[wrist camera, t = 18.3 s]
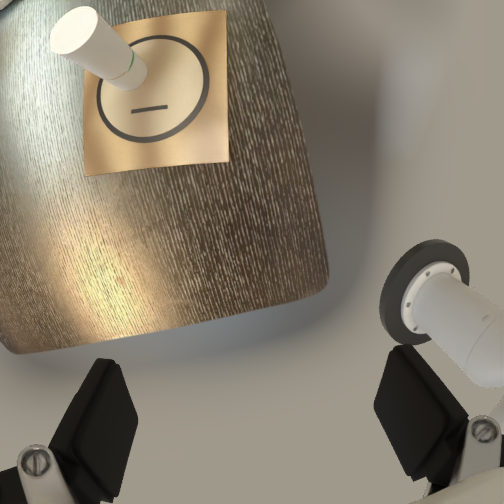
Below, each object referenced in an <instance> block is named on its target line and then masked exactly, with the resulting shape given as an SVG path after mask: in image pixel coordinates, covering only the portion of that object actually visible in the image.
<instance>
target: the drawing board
mask: <svg viewBox="0 0 504 504" xmlns="http://www.w3.org/2000/svg"><path fill="white" fill-rule="evenodd" d="M111 27H112V28H113V29H114V31H115V32H116V33H117V34H118V35H119V36H120V37H121V38H122V39H123V40H124V41H125V42H126V43H127V44H128V45H129V46H130V47H131V49H132V50H133V51H134V52H135V53H136V54H137V55H138V56H139V57H140V58H141V59H142V60H143V61H144V63H145V64H146V66H147V76H146V79H145V80H144V82H143V83H142V84H141V85H140V86H139V87H137V88H136V89H133V90H129V91H124V90H121V89H119V88H117V87H116V86H114V85H112V84H111V83H109V82H107V81H106V80H104V79H102V78H100V77H99V76H97V75H95V74H93V73H92V72H90V71H88V70H86V69H85V78H84V100H83V143H84V165H85V176H86V177H87V176H93V175H100V174H107V173H114V172H121V171H129V170H138V169H147V168H156V167H167V166H178V165H191V164H206V163H224V162H229V132H228V92H227V21H226V10H218V11H202V12H191V13H182V14H174V15H167V16H160V17H154V18H148V19H143V20H138V21H133V22H128V23H124V24H120V25H115V26H111Z"/></svg>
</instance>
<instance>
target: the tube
mask: <svg viewBox="0 0 504 504" xmlns="http://www.w3.org/2000/svg"><path fill="white" fill-rule="evenodd" d="M50 47H51V49H52V50H53V51H54V52H55V53H57V54H59V55H61V56H62V57H64V58H66V59H68V60H70V61H72V62H74V63H75V64H77V65H79V66H81V67H83V68H84V69H86V70H88V71H90V72H92V73H93V74H95V75H97V76H99V77H100V78H102V79H104V80H106V81H107V82H109V83H111V84H112V85H114V86H116V87H117V88H119V89H121V90H124V91H129V90H133V89H136V88H137V87H139V86H140V85H141V84H142V83H143V82H144V80H145V79H146V76H147V66H146V64H145V63H144V61H143V60H142V59H141V58H140V57H139V56H138V55H137V54H136V53H135V52H134V51H133V50H132V49H131V47H130V46H129V45H128V44H127V43H126V42H125V41H124V40H123V39H122V38H121V37H120V36H119V35H118V34H117V33H116V32H115V31H114V29H113V28H112V27H111V26H110V25H109V24H108V23H107V22H106V21H105V20H104V19H103V18H102V17H101V16H100V15H99V14H98V13H97V12H96V11H95V10H94V9H93V8H91V7H86V6H83V7H78V8H75V9H73V10H71V11H69V12H68V13H66V14H65V15H64V16H63V17H62V18H61V19H60V20H59V21H58V22H57V23H56V25H55V26H54V28H53V30H52V32H51V35H50Z"/></svg>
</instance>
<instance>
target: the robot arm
mask: <svg viewBox="0 0 504 504" xmlns="http://www.w3.org/2000/svg"><path fill="white" fill-rule="evenodd" d="M401 318H402V321H403V323H404V324H405V326H406V327H407V328H408V329H409V330H410V331H412V332H413V333H417V334H425V333H427V334H428V335H429V336H430V337H431V339H432V340H433V341H434V342H435V343H436V344H437V345H438V346H439V347H440V348H441V349H442V350H443V351H444V352H445V353H446V354H447V355H448V356H449V357H450V358H451V359H452V360H453V361H454V362H455V363H456V365H457V366H458V367H459V368H460V369H461V370H462V371H463V372H464V373H465V374H466V375H467V376H468V377H469V379H470V380H471V381H472V382H473V383H475V384H476V385H478V386H480V387H483V388H498V387H504V311H503V310H502V309H500V308H499V307H498V306H496V305H495V304H493V303H492V302H490V301H489V300H488V299H486V298H485V297H483V296H482V295H480V294H479V293H477V289H476V288H470V287H468V286H467V285H465V284H464V283H462V281H461V276H460V273H459V271H458V270H457V268H456V267H455V266H453V265H452V264H450V263H448V262H445V261H436V262H433V263H430V264H429V265H427V266H425V267H424V268H423V269H421V270H420V271H419V272H418V273H417V274H416V275H415V276H414V277H413V279H412V280H411V282H410V283H409V285H408V287H407V289H406V290H405V293H404V296H403V299H402V303H401ZM374 410H375V412H376V415H377V417H378V419H379V420H380V423H381V425H382V427H383V429H384V430H385V432H386V434H387V436H388V439H389V441H390V442H391V445H392V446H393V449H394V451H395V453H396V455H397V457H398V459H399V461H400V463H401V465H402V467H403V469H404V471H405V473H406V475H407V476H411V478H412V480H413V482H414V481H416V480H419V479H421V478H424V477H427V479H428V484H427V487H426V490H425V493H424V496H423V498H422V499H420V500H418V501H415V502H413V503H410V504H504V396H503V397H502V399H501V400H500V402H499V403H498V404H497V406H496V407H495V408H494V409H493V411H492V412H491V413H490V414H489V416H484V415H480V416H476V417H474V418H473V419H471V420H470V421H469V420H468V416H469V415H468V414H467V412H466V411H465V410H464V409H463V407H462V406H461V405H460V403H459V402H458V401H457V400H456V398H455V397H454V396H453V394H452V393H451V392H450V391H449V390H448V388H447V387H446V386H445V385H444V383H443V382H442V381H441V380H440V378H439V377H438V376H437V375H436V373H435V372H434V371H433V370H432V369H431V367H430V366H429V365H428V364H427V363H426V361H425V360H424V359H423V358H422V357H421V355H420V354H419V353H418V352H417V351H416V349H414V347H413V346H412V345H411V344H409V343H408V344H403V345H398V346H395V347H394V348H393V350H392V351H390V352H389V355H388V359H387V362H386V366H385V369H384V372H383V377H382V379H381V382H380V385H379V388H378V392H377V395H376V397H375V400H374ZM137 425H138V416H137V413H136V410H135V408H134V405H133V402H132V400H131V397H130V394H129V391H128V389H127V386H126V383H125V380H124V377H123V374H122V371H121V368H120V366H119V364H116V363H115V361H114V360H112V359H102V358H98V359H96V361H95V362H94V364H93V366H92V368H91V369H90V371H89V373H88V375H87V376H86V378H85V380H84V382H83V383H82V385H81V387H80V389H79V391H78V392H77V393H76V395H75V396H74V398H73V400H72V402H71V403H70V405H69V407H68V409H67V411H66V413H65V414H64V416H63V418H62V420H61V422H60V424H59V426H58V428H57V430H56V432H55V434H54V436H53V438H52V440H51V442H50V444H49V446H48V448H47V447H45V446H43V445H37V444H36V445H30V446H28V447H26V448H25V449H23V450H22V451H21V452H20V454H19V456H18V459H17V466H16V467H13V468H10V469H7V470H4V471H1V472H0V504H100V501H105V502H109V503H113V499H114V497H118V495H119V492H120V488H121V484H122V480H123V476H124V472H125V469H126V465H127V461H128V457H129V453H130V450H131V446H132V443H133V439H134V436H135V432H136V429H137Z"/></svg>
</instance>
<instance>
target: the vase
mask: <svg viewBox="0 0 504 504" xmlns="http://www.w3.org/2000/svg"><path fill="white" fill-rule="evenodd" d="M12 1H13V0H0V10H1V9H3V8H4V7H5V6H7V5H8V4H9V3H10V2H12Z"/></svg>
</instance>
